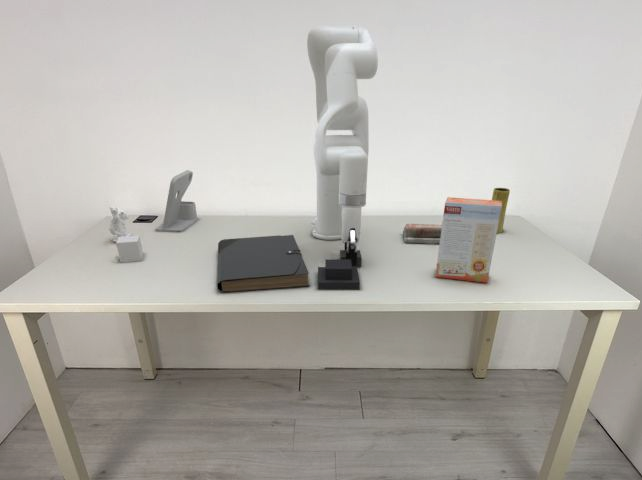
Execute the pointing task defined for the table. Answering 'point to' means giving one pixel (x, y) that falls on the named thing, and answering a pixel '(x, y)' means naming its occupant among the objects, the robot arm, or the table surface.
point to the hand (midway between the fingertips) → (350, 259)
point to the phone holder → (179, 205)
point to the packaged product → (422, 233)
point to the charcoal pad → (338, 269)
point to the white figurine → (118, 222)
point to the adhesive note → (129, 248)
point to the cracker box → (468, 238)
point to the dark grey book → (260, 264)
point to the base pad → (338, 281)
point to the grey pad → (343, 256)
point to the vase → (503, 196)
